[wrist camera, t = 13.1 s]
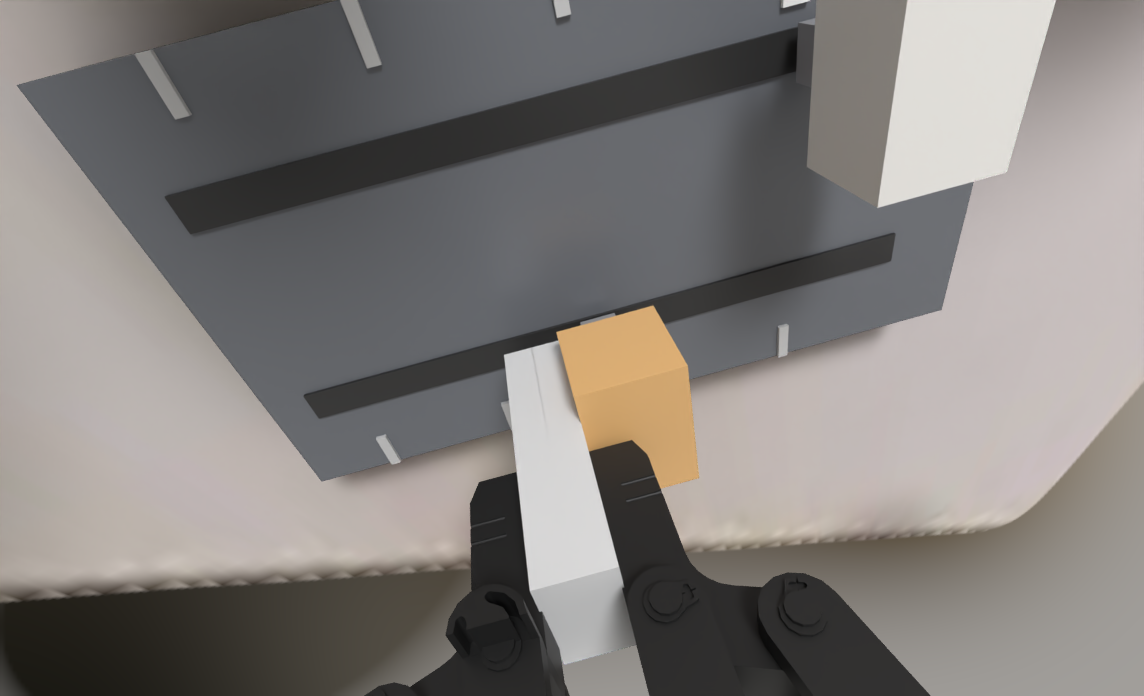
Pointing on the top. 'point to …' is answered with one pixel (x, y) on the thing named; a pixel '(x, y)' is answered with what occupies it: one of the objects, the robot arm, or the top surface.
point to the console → (486, 200)
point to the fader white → (917, 90)
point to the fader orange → (633, 389)
